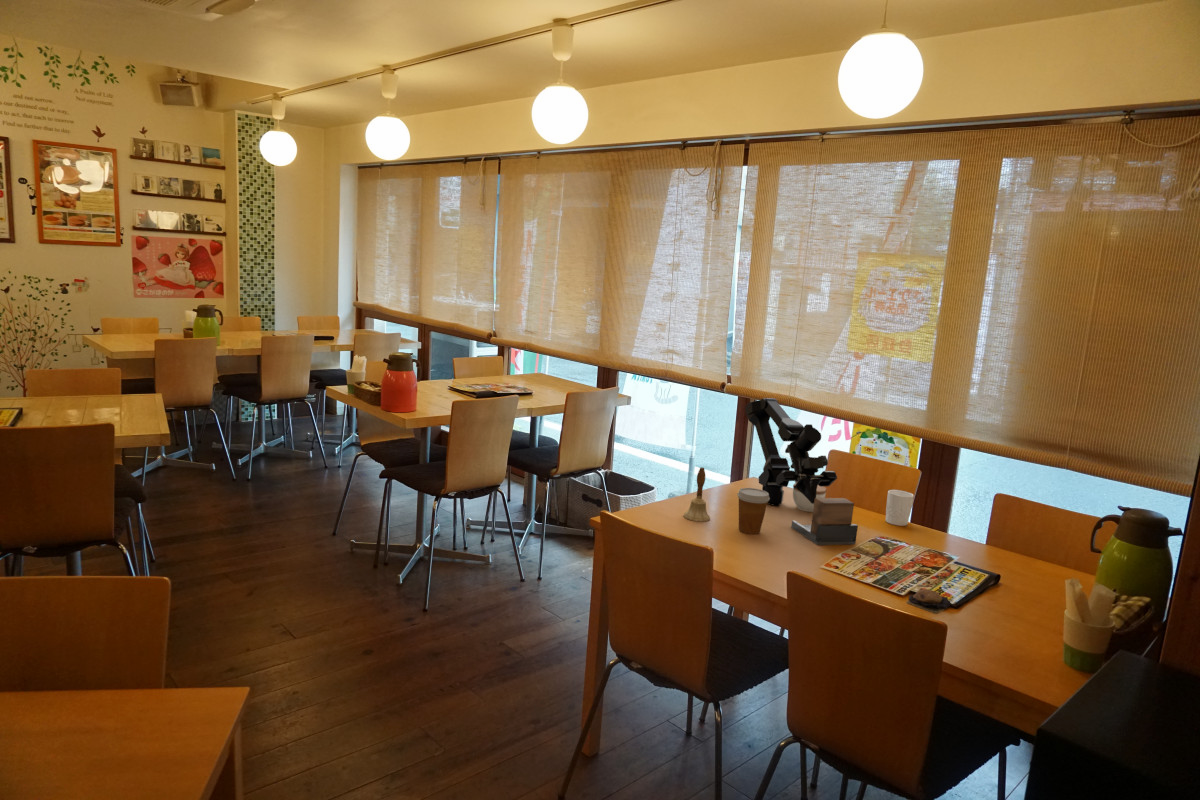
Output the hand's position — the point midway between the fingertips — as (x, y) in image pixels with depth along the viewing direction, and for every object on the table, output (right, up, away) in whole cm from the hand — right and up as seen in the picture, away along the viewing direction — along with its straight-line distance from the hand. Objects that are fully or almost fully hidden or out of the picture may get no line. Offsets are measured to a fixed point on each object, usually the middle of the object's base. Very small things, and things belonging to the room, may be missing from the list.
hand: (813, 502), depth 234 cm
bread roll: (+14, -18, -49) cm, 54 cm away
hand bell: (-36, -5, +2) cm, 36 cm away
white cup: (+31, -9, +15) cm, 36 cm away
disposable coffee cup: (-21, -8, -6) cm, 23 cm away
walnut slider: (+2, -9, -9) cm, 12 cm away
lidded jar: (+4, -5, +22) cm, 23 cm away
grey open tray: (+1, -9, -5) cm, 11 cm away
